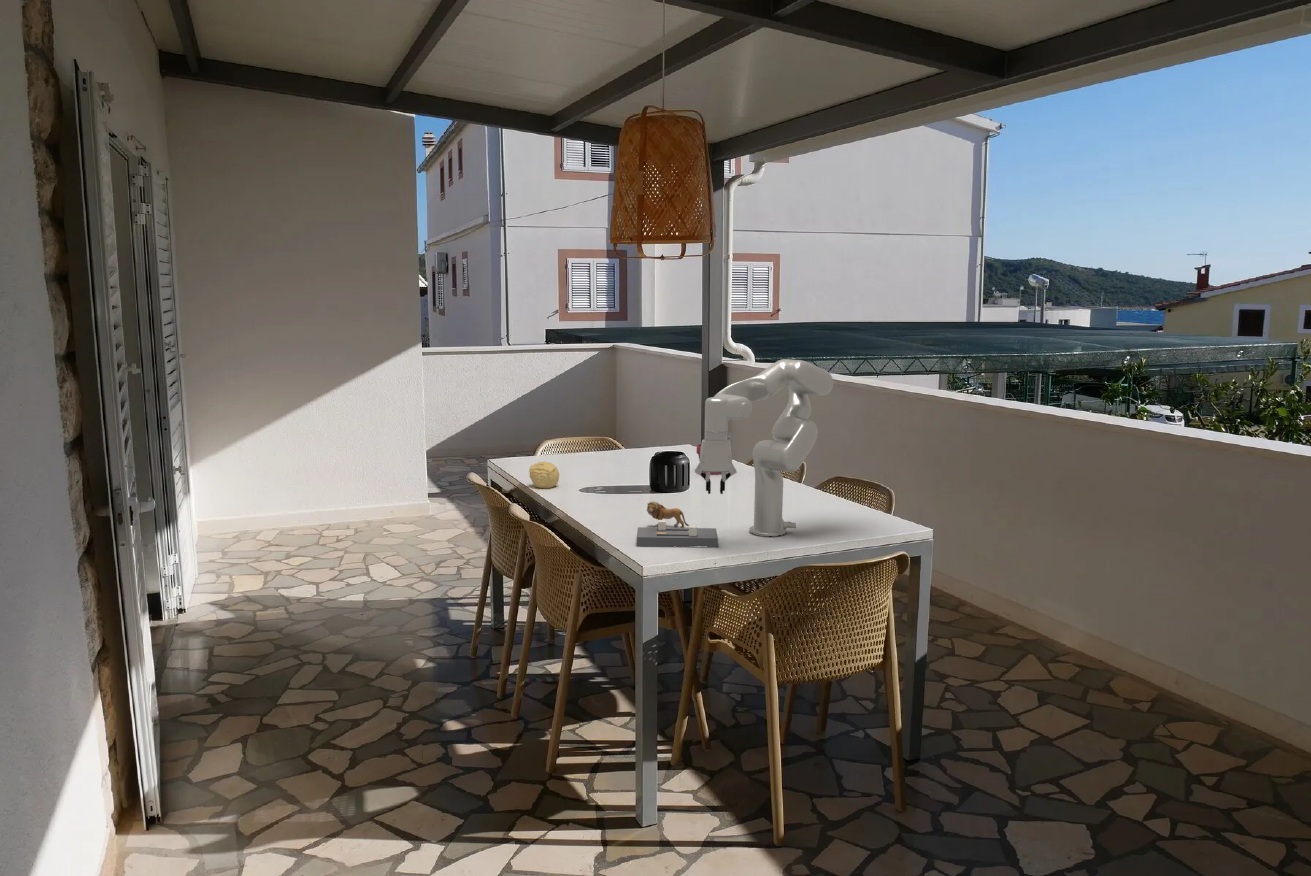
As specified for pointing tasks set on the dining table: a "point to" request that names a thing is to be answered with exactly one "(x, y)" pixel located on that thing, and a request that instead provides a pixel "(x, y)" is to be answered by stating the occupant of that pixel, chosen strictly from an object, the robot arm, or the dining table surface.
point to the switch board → (676, 537)
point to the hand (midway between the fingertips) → (715, 492)
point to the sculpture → (544, 475)
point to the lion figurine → (665, 513)
